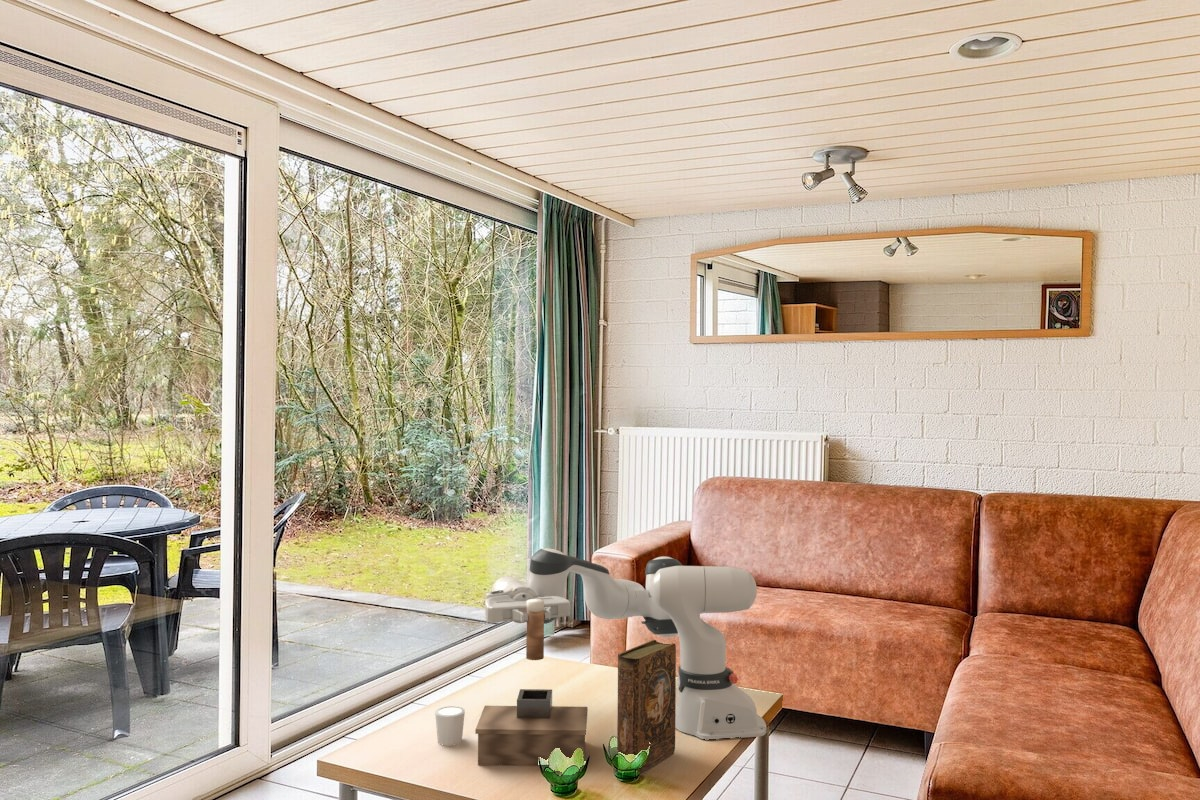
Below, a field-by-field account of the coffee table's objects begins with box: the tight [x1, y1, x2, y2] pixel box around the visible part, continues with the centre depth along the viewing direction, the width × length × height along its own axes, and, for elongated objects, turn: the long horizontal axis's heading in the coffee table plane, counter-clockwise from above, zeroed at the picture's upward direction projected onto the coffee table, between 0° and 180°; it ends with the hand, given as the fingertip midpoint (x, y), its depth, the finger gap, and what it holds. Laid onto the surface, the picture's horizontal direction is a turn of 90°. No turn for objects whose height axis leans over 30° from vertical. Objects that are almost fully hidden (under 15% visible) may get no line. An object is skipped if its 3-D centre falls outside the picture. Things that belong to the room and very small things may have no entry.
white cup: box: [434, 705, 466, 746], centre depth 202 cm, size 7×7×7 cm
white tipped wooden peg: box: [525, 599, 545, 661], centre depth 199 cm, size 4×4×13 cm
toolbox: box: [475, 688, 588, 767], centre depth 195 cm, size 24×14×12 cm, turn 90°
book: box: [616, 639, 677, 776], centre depth 190 cm, size 16×6×25 cm, turn 144°
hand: (536, 617), depth 198 cm, fingers closed on white tipped wooden peg, 4 cm apart
